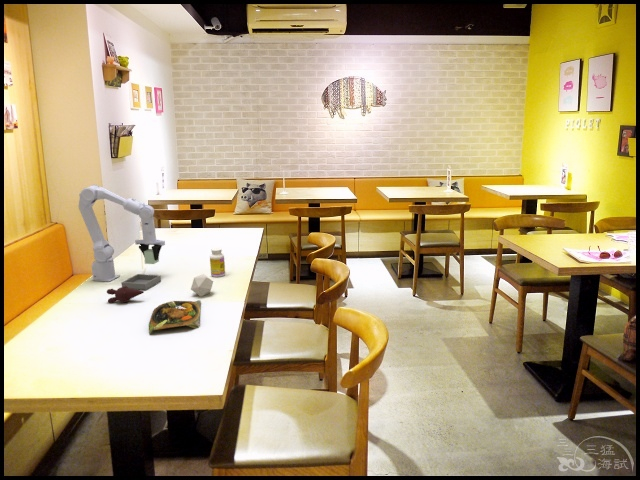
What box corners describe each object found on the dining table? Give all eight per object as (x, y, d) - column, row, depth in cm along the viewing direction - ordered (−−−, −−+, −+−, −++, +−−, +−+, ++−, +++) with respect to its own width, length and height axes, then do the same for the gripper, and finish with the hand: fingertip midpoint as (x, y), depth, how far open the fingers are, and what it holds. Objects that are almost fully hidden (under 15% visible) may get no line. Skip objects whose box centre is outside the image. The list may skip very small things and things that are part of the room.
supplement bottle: (222, 277, 230) (220, 251, 227) (208, 277, 231) (206, 250, 228) (227, 273, 237) (225, 247, 233) (214, 272, 238) (212, 247, 235)
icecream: (145, 282, 206) (109, 287, 205) (139, 284, 198) (102, 288, 198) (147, 299, 206) (111, 303, 205) (141, 301, 198) (104, 306, 198)
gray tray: (122, 288, 218) (121, 282, 217) (138, 280, 229) (137, 274, 229) (145, 290, 215) (145, 284, 214) (161, 281, 226) (160, 275, 226)
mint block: (145, 263, 231) (143, 251, 230) (150, 260, 235) (149, 248, 234) (153, 264, 230) (152, 251, 228) (159, 261, 234) (157, 249, 233)
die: (204, 290, 216) (189, 275, 211) (219, 282, 213) (204, 266, 208) (199, 303, 209) (183, 288, 204) (215, 295, 206) (199, 279, 201)
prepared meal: (153, 298, 196) (200, 293, 200) (154, 306, 197) (200, 301, 201) (146, 329, 170) (199, 323, 174) (147, 338, 171) (200, 332, 175)
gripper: (167, 230, 231) (170, 257, 234) (140, 229, 234) (143, 256, 238) (158, 233, 224) (161, 262, 228) (131, 232, 228) (134, 260, 231)
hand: (151, 259), depth 232 cm, fingers closed on mint block, 4 cm apart
